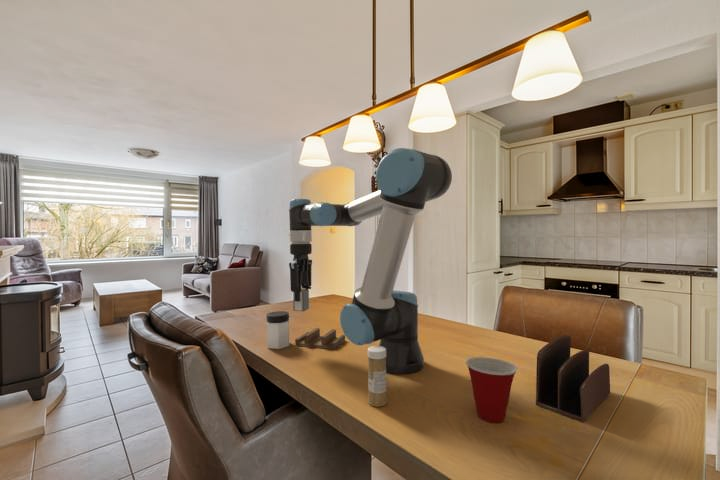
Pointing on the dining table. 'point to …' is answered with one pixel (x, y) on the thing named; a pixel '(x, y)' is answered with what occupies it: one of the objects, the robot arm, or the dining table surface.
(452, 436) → the dining table surface
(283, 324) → the jar
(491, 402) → the plastic cup
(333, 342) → the brown slotted rack
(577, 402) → the letter holder
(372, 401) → the sprinkles bottle
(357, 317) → the robot arm
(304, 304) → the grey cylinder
